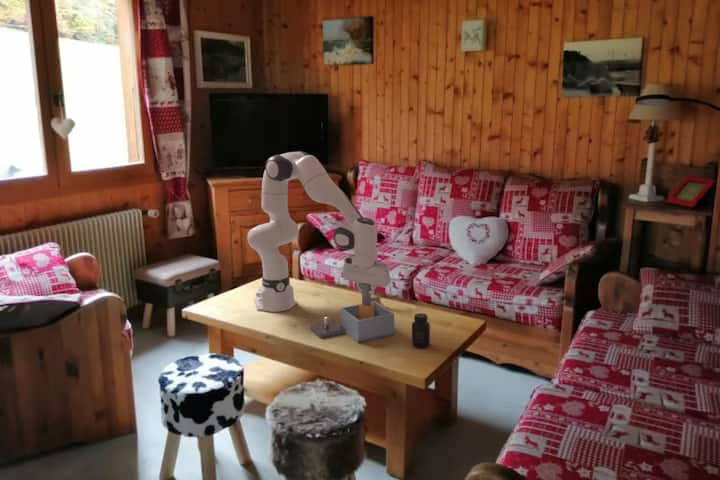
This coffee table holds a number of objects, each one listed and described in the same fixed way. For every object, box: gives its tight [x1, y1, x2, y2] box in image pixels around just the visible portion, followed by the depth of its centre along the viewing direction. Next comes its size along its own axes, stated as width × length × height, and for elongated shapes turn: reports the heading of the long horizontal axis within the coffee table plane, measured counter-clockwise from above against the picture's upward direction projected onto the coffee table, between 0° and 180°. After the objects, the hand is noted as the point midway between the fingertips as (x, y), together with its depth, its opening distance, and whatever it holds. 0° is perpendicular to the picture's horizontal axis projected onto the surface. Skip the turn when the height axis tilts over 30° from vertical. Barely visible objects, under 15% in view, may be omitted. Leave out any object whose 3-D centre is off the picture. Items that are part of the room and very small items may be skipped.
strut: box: [359, 283, 375, 319], centre depth 232 cm, size 4×4×15 cm
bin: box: [339, 301, 395, 344], centre depth 234 cm, size 16×16×9 cm
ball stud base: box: [310, 316, 345, 339], centre depth 235 cm, size 10×10×6 cm
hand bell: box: [371, 288, 385, 307], centre depth 260 cm, size 8×8×16 cm
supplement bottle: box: [411, 312, 431, 349], centre depth 221 cm, size 7×7×12 cm
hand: (366, 293), depth 231 cm, fingers closed on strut, 4 cm apart
